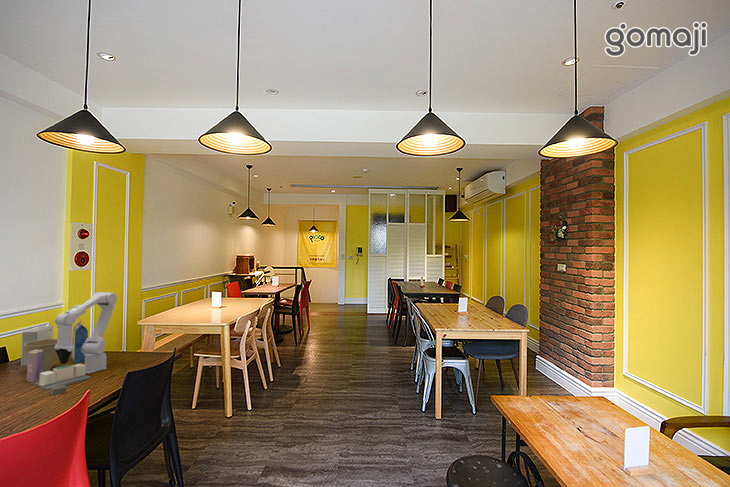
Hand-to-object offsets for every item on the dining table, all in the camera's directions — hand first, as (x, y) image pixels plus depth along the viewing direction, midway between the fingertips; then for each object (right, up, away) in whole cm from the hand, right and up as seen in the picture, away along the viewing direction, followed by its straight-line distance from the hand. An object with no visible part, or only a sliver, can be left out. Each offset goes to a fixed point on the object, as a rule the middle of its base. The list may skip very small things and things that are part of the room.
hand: (63, 363), depth 181 cm
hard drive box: (-42, -10, +30) cm, 53 cm away
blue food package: (-20, -10, +35) cm, 42 cm away
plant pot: (-25, -10, +15) cm, 31 cm away
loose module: (0, -8, 0) cm, 8 cm away
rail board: (0, -9, 0) cm, 9 cm away
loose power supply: (+10, -10, -14) cm, 20 cm away
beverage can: (-16, -9, +1) cm, 19 cm away
